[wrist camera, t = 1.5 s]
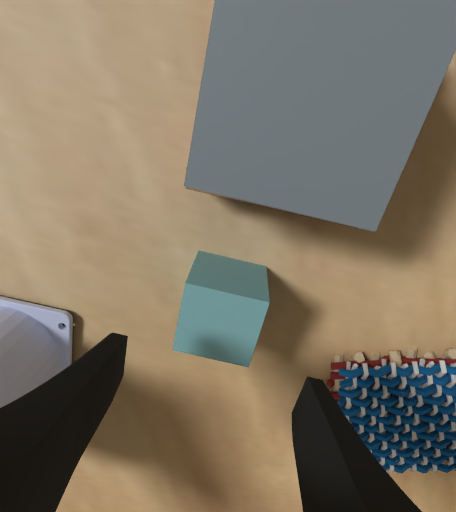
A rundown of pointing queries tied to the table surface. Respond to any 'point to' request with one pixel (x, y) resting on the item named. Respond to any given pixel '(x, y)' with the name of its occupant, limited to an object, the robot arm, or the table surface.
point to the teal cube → (222, 309)
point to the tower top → (317, 101)
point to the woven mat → (401, 407)
